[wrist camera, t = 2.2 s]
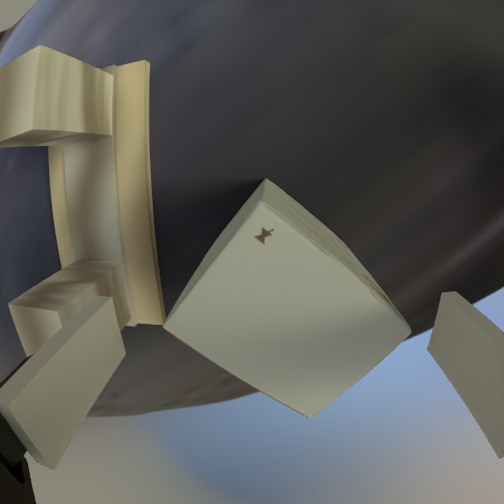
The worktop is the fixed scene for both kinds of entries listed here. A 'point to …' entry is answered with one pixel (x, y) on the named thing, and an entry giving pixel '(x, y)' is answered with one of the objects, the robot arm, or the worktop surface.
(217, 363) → the small box
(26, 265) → the worktop surface
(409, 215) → the worktop surface
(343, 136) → the worktop surface
